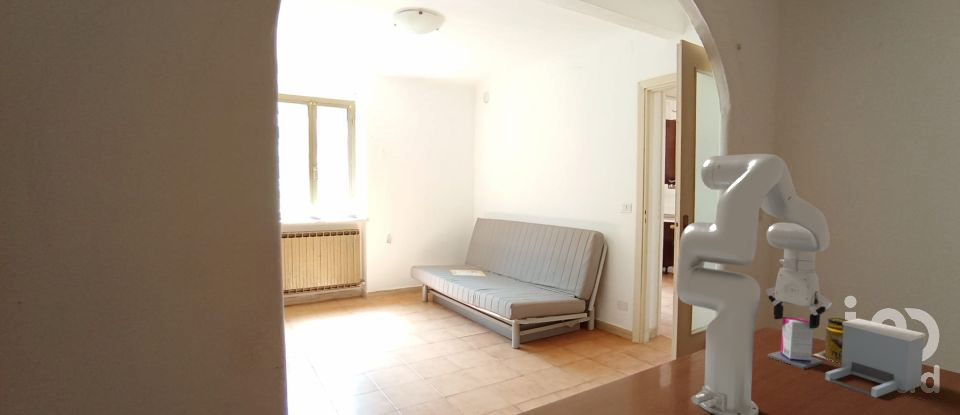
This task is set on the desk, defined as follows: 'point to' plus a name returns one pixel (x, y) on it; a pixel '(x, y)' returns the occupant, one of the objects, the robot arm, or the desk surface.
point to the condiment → (833, 340)
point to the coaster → (795, 363)
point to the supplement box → (796, 339)
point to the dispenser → (881, 355)
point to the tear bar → (850, 387)
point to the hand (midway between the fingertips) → (795, 323)
